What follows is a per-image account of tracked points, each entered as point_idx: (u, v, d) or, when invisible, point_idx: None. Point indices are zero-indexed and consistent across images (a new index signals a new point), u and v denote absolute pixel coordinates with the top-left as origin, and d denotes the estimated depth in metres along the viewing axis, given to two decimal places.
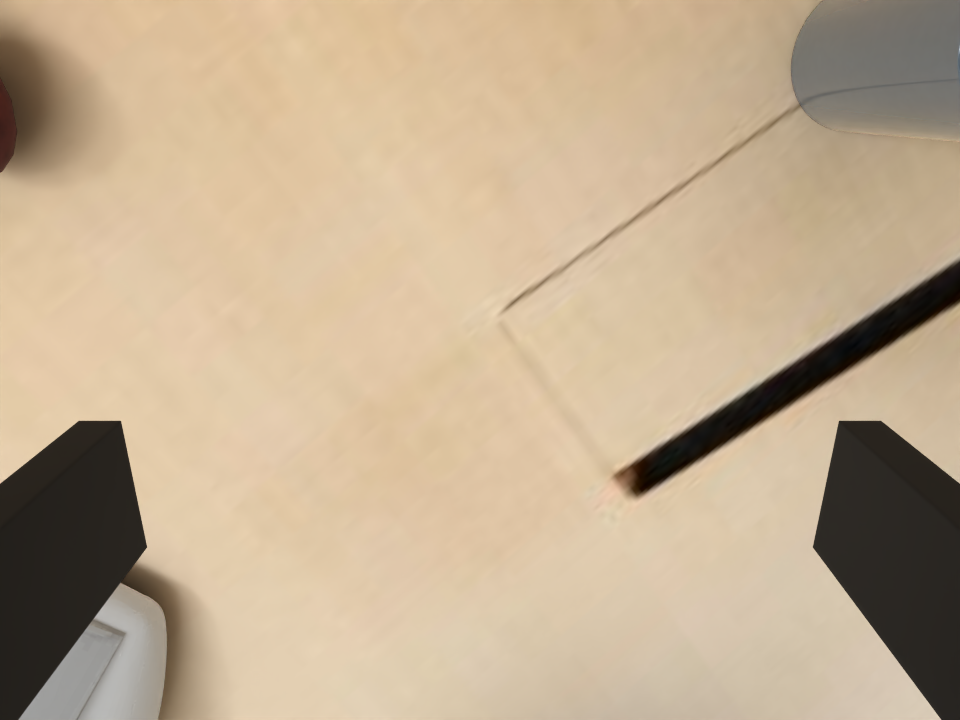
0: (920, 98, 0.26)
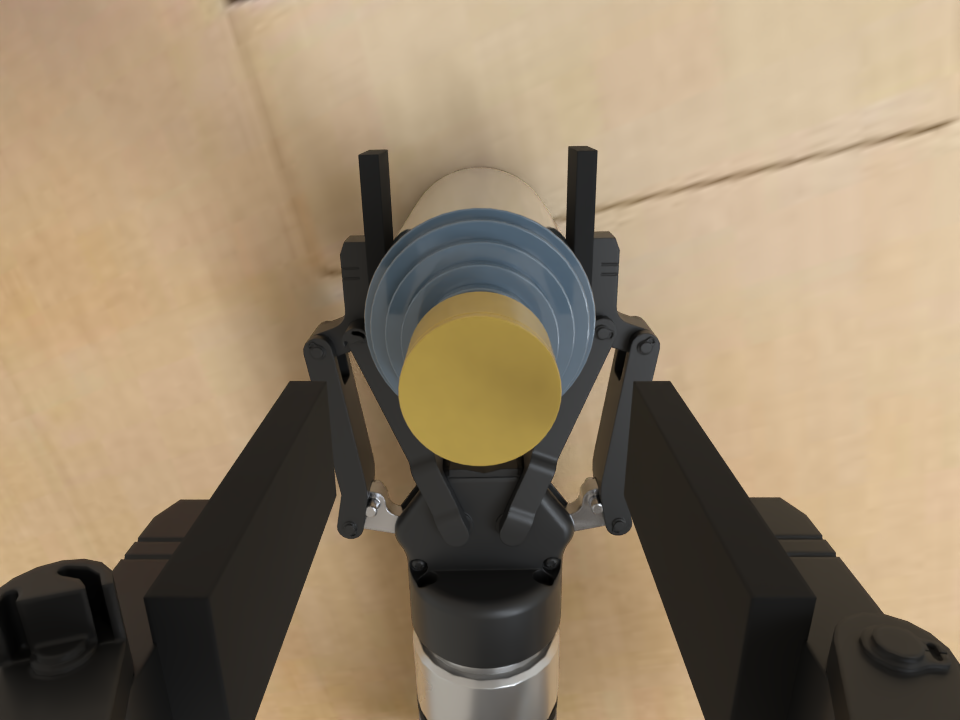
0: None
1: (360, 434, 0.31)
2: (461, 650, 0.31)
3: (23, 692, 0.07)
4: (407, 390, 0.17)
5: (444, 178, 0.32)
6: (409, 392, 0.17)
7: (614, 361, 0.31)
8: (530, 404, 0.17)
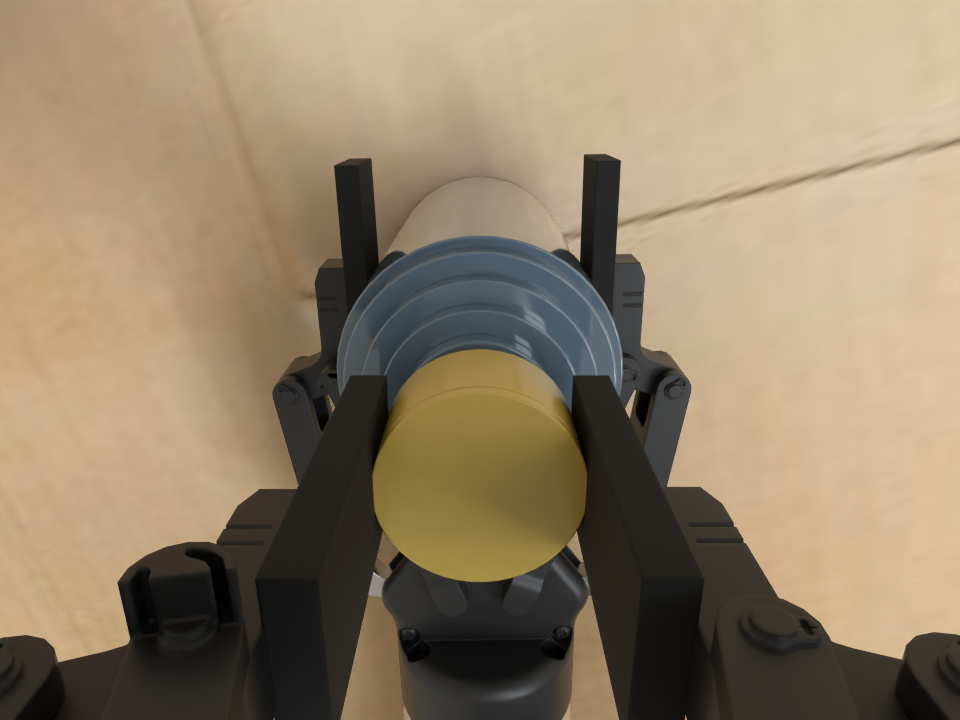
0: None
1: None
2: None
3: (152, 666, 0.07)
4: (382, 487, 0.12)
5: (439, 190, 0.28)
6: (385, 490, 0.12)
7: (635, 402, 0.27)
8: (547, 505, 0.13)
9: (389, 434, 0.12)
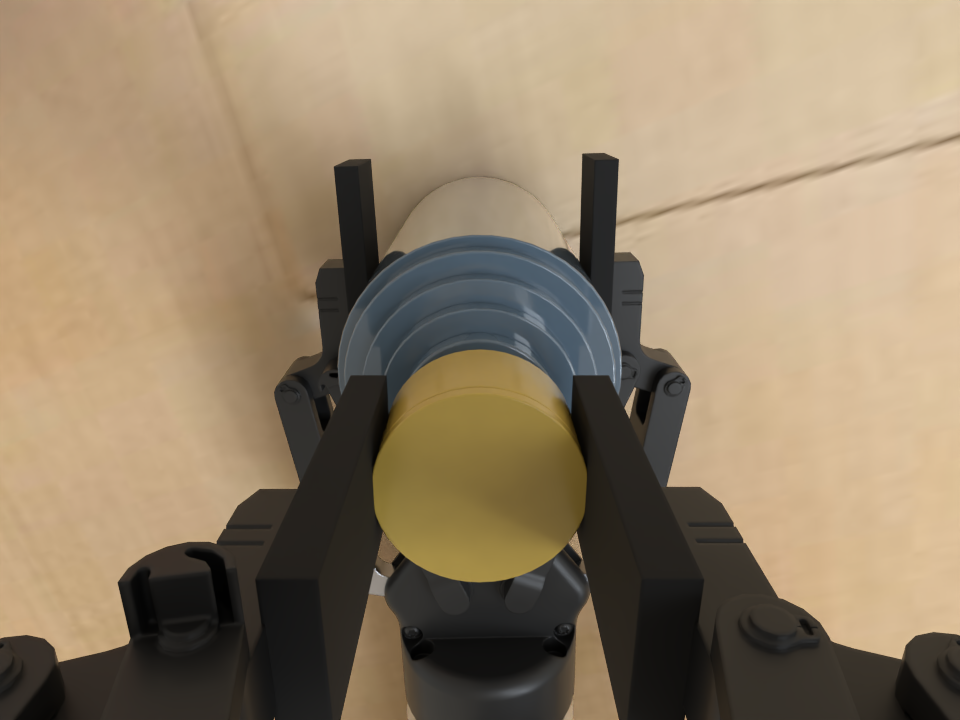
0: None
1: None
2: None
3: (152, 665, 0.07)
4: (505, 570, 0.13)
5: (438, 190, 0.28)
6: (507, 567, 0.13)
7: (635, 400, 0.27)
8: (470, 432, 0.12)
9: (450, 577, 0.13)
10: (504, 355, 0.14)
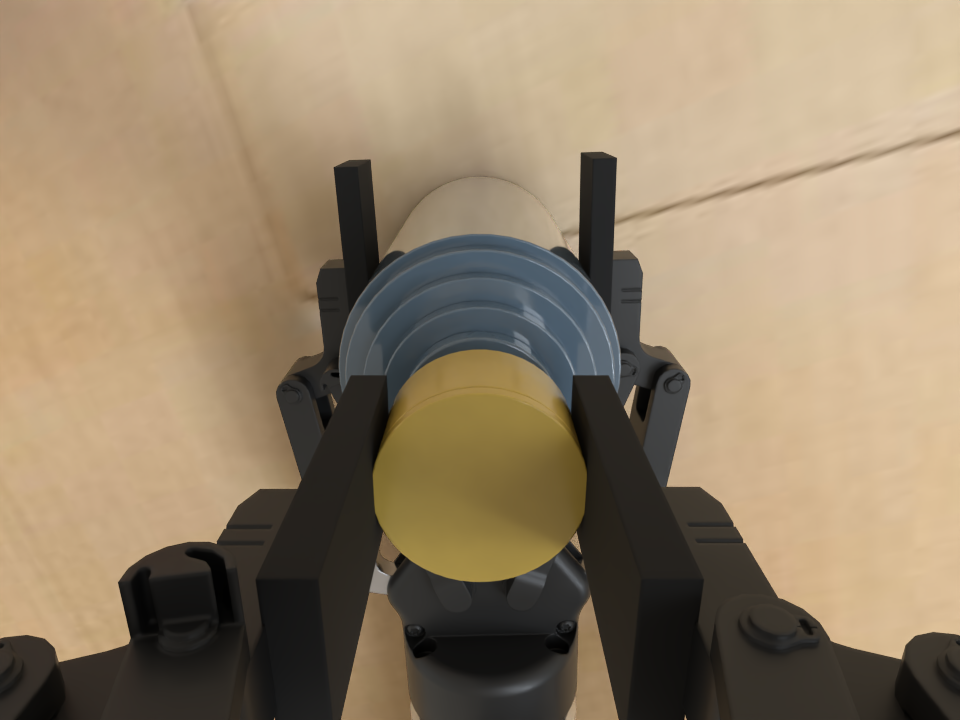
0: None
1: None
2: None
3: (153, 665, 0.07)
4: (561, 443, 0.12)
5: (438, 190, 0.28)
6: (557, 442, 0.12)
7: (636, 397, 0.27)
8: (419, 520, 0.13)
9: None
10: None
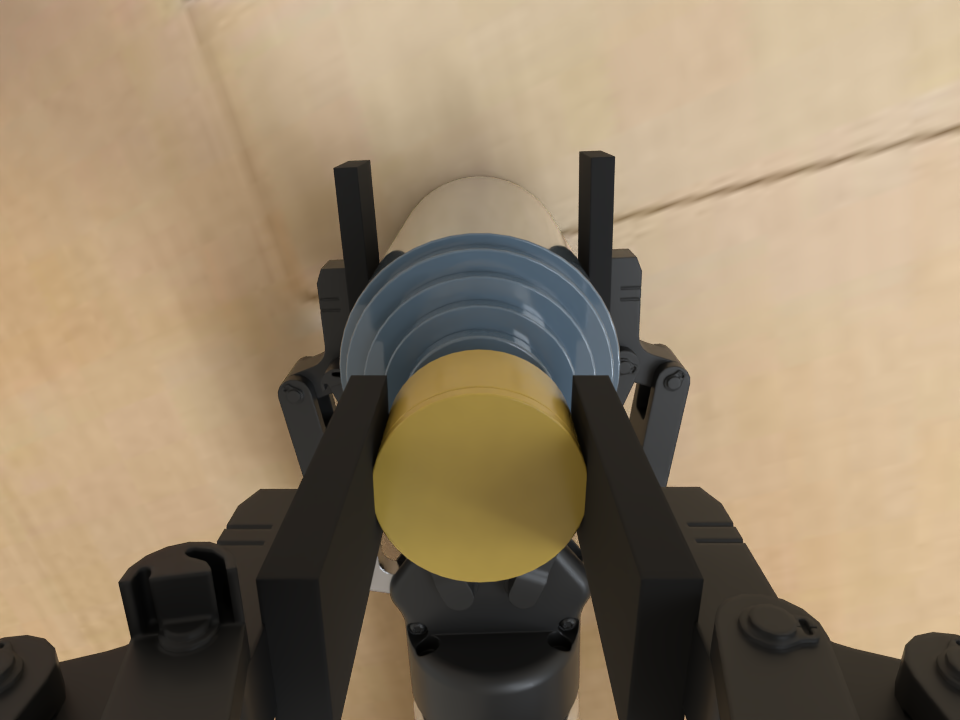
0: None
1: None
2: None
3: (153, 666, 0.07)
4: (398, 443, 0.12)
5: (437, 190, 0.28)
6: (399, 447, 0.12)
7: (636, 395, 0.27)
8: (529, 534, 0.13)
9: (436, 400, 0.12)
10: None
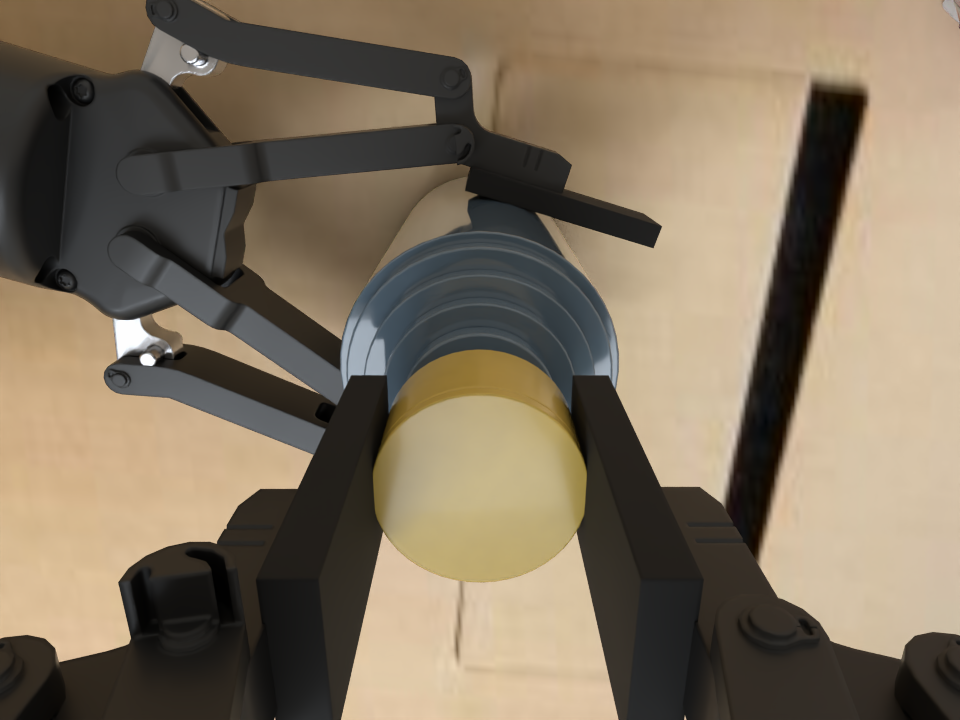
0: None
1: None
2: None
3: (152, 665, 0.07)
4: (398, 444, 0.12)
5: None
6: (399, 447, 0.12)
7: (331, 402, 0.27)
8: (529, 534, 0.13)
9: (436, 400, 0.12)
10: None
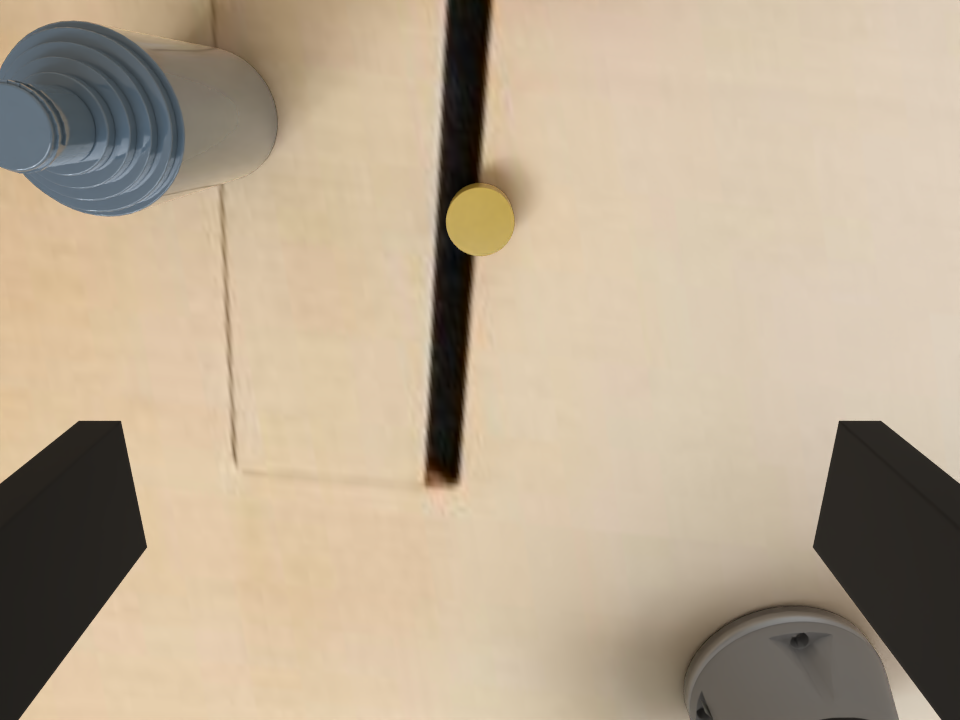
0: None
1: None
2: None
3: None
4: (455, 204, 0.39)
5: (269, 106, 0.39)
6: (455, 205, 0.40)
7: None
8: (495, 237, 0.40)
9: (467, 189, 0.39)
10: None
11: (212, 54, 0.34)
